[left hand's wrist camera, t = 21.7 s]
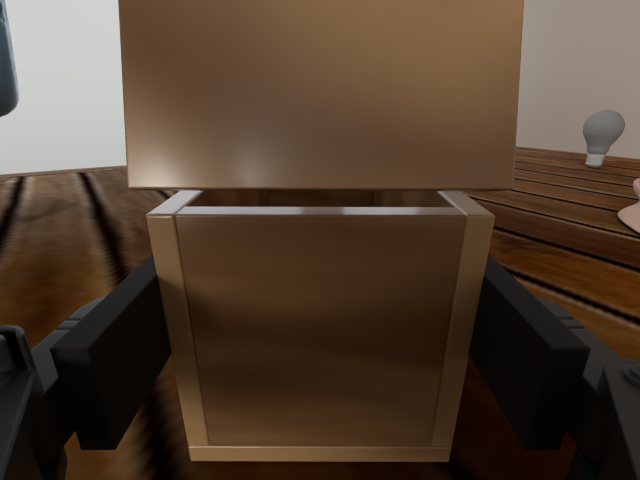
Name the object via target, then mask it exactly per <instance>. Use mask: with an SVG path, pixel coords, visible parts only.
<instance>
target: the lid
mask: <svg viewBox="0 0 640 480" xmlns="http://www.w3.org/2000/svg"><path fill="white" fill-rule="evenodd" d="M118 3H119V22H120V42H121V61H122V81H123V101H124V120H125V139H126V159H127V179H128V188H129V189H137V190H169V191H505V190H512V189H513V182H514V165H515V147H516V129H517V112H518V95H519V77H520V60H521V42H522V25H523V8H524V0H118Z"/></svg>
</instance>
